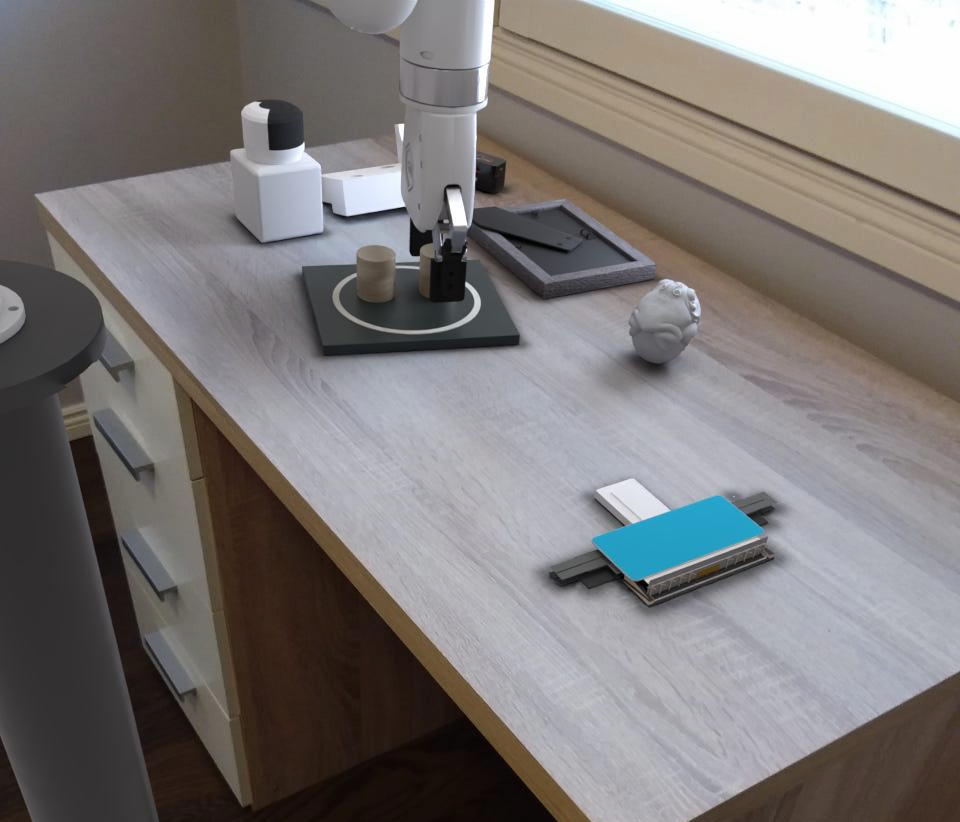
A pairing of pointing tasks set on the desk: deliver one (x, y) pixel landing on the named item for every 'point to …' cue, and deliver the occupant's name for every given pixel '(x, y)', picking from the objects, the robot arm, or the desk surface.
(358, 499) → the desk surface
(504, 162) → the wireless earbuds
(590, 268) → the picture frame
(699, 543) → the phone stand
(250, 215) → the security camera
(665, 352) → the frog figurine
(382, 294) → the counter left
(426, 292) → the beige cylinder
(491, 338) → the slate board
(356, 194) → the bracket
